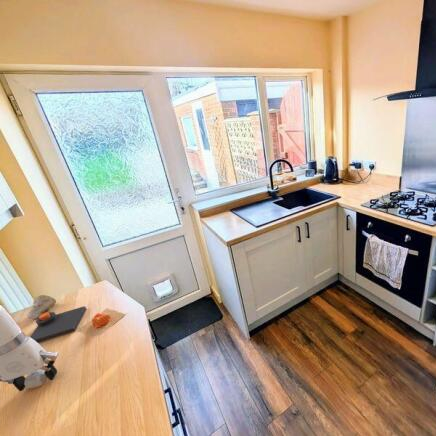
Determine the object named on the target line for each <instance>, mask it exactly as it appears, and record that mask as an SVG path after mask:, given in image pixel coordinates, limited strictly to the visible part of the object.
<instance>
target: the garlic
mask: <svg viewBox="0 0 436 436" xmlns="http://www.w3.org/2000/svg"><path fill="white" fill-rule="evenodd" d="M44 372H45V371H44V370H41V369H39V370H37V371H35V372H32V373H29V374H27V375H26V377H25V378H26V379H25V382H24V385H25V388H27V389H35V388H40V387H41V386H43V385H44V384H45V382H47V380H48V377H47V376H46V375H45V374H44Z"/></svg>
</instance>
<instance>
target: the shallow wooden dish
mask: <svg viewBox="0 0 436 436" xmlns="http://www.w3.org/2000/svg"><path fill="white" fill-rule="evenodd" d="M125 315H126V313H124V312H119V311H117V310H114V309H110V308H107V307H106V308H105V309H103V310H102V311H101V312H97V313H96V314H95V315H94V316H93V317H92V319H90V320H89V321H87V322H86V323H85V324H84V325H82V326H81V327H80V328H79V329H77V331H78V332H80V333H82V334H86V335H87V336H90V337H94V338H97V337H100V336H101V335H102V334H104V333H105V332H106V331H107V330H108V329H110V328H111V327H112V326H113V325H114V324H116V323H118V321H120V320H121V319H122V318H124V316H125Z"/></svg>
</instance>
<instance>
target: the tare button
mask: <svg viewBox="0 0 436 436" xmlns="http://www.w3.org/2000/svg"><path fill="white" fill-rule="evenodd" d="M49 317H50V314H49V313H48V311H45V312H43V313H42V315H40V316H39V317H38V318H40V320H41V321H44V320H46V319H48V318H49Z"/></svg>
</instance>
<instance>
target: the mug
mask: <svg viewBox="0 0 436 436" xmlns="http://www.w3.org/2000/svg"><path fill="white" fill-rule="evenodd" d="M56 303H57V300H56V299H55V298H54V297H52V296H50V295H45V294H39V295H38V296H37V297H36V298H35V299H34V300H33V303H32V307H31V309H30V310H29V311H28V313H27V314H26V316H27V318H29V319H30V320H37V319H38V318H39V316H40V315H42V314H43V313H46V312H48V313H50V312H51V310H52V308H53V307H54V306H55V305H56Z"/></svg>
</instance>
